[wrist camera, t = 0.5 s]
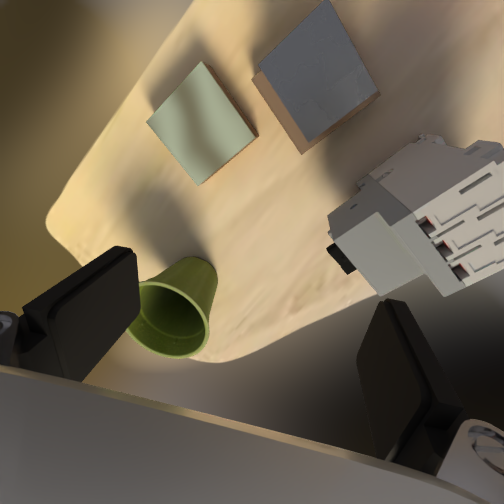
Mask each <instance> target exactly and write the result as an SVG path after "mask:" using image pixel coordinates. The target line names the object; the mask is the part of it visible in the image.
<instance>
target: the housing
mask: <svg viewBox="0 0 504 504" xmlns="http://www.w3.org/2000/svg"><path fill="white" fill-rule="evenodd" d="M258 66H259V67H260V69H261V70H262V72H263V73H264V75H265V76H266V78H267V80H268V81H269V83H270V84H271V86H272V87H273V89H274V90H275V92H276V93H277V95H278V97H279V98H280V100H281V101H282V103H283V104H284V106H285V107H286V109H287V110H288V112H289V113H290V115H291V117H292V118H293V120H294V121H295V123H296V124H297V126H298V127H299V129H300V130H301V132H302V133H303V135H304V137H305V138H306V140H307V141H308V143H309V142H311V141H312V140H313V139H315V138H316V137H317V136H319V135H320V134H321V133H322V132H324V131H325V130H326V129H328V128H329V127H330V126H332V125H333V124H334V123H336V122H337V121H338V120H340V119H341V118H342V117H344V116H345V115H346V114H347V113H349V112H350V111H351V110H353V109H354V108H355V107H357V106H358V105H359V104H361V103H362V102H363V101H365V100H366V99H367V98H368V97H370V96H371V95H372V94H374V93H375V92H376V91H378V89H377V88H376V86H375V84H374V82H373V80H372V78H371V76H370V75H369V73H368V71H367V69H366V67H365V65H364V64H363V62H362V60H361V58H360V56H359V54H358V53H357V51H356V49H355V47H354V45H353V43H352V42H351V40H350V38H349V36H348V34H347V32H346V31H345V29H344V27H343V25H342V23H341V21H340V19H339V18H338V16H337V14H336V12H335V10H334V8H333V7H332V5H331V3H330V1H329V0H324V1H323V2H322V3H321V4H320V5H319V6H318V7H317V8H316V9H315V10H314V11H312V12H311V13H310V14H309V15H308V16H307V17H306V18H305V19H304V20H303V21H302V22H301V23H300V24H299V25H298V26H297V27H296V28H295V29H294V30H293V31H292V32H291V33H290V34H289V35H288V36H287V37H286V38H285V39H284V40H283V41H282V42H281V43H280V44H279V45H278V46H277V47H276V48H275V49H274V50H273V51H272V52H271V53H270V54H269V55H268V56H267V57H266V58H265V59H264V60H262V61H261V62H260V63H259V64H258Z"/></svg>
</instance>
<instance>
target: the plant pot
mask: <svg viewBox="0 0 504 504" xmlns="http://www.w3.org/2000/svg"><path fill="white" fill-rule="evenodd" d="M217 284H218V278H217V274H216V272H215V270H214V268H213V267H212V266H211V265H210V264H209V263H208V262H206V261H204V260H201V259H199V258H197V257H186V258H183V259H182V260H180V261H178V262H177V263H175V264H174V265H172V266H171V267H169V268H168V269H166V270H165V271H163V272H161V273H160V274H158V275H157V276H155V277H153V278H150V279H148V280H146V281H142V282H139V291H140V302H141V310H140V313H139V315H138V316H137V318H136V319H135V320H134V321H133V322H132V323H131V325H130V326H129V327H128V328H127V329H126V332H127V333H128V334H129V335H130V337H131V338H132V339H133V340H134V341H136V342H137V343H138V344H139V345H141V346H142V347H143V348H145V349H146V350H148V351H150V352H152V353H155V354H157V355H160V356H163V357H167V358H175V359H180V358H187V357H191V356H194V355H196V354H197V353H199V352H200V351H201V350H202V349H203V348H204V347H205V345H206V344H207V341H208V338H209V324H208V323H209V314H210V310H211V306H212V303H213V299H214V295H215V292H216V288H217Z"/></svg>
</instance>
